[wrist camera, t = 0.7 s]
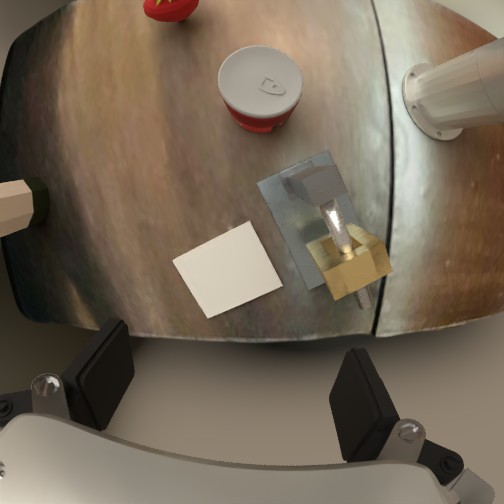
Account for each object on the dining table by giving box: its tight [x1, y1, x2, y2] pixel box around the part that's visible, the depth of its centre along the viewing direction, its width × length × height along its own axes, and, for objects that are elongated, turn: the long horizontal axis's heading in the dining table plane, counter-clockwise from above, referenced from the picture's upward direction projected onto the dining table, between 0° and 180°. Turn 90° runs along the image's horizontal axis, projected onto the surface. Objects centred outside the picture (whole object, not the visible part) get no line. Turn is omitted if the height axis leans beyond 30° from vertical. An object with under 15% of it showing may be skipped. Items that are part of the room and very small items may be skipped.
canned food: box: [218, 45, 304, 133], centre depth 26 cm, size 8×8×11 cm
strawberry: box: [143, 0, 199, 22], centre depth 22 cm, size 6×8×10 cm
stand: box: [257, 150, 373, 310], centre depth 29 cm, size 10×16×14 cm, turn 27°
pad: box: [173, 221, 283, 318], centre depth 38 cm, size 12×10×1 cm
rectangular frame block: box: [306, 223, 392, 300], centre depth 27 cm, size 6×3×9 cm, turn 117°
